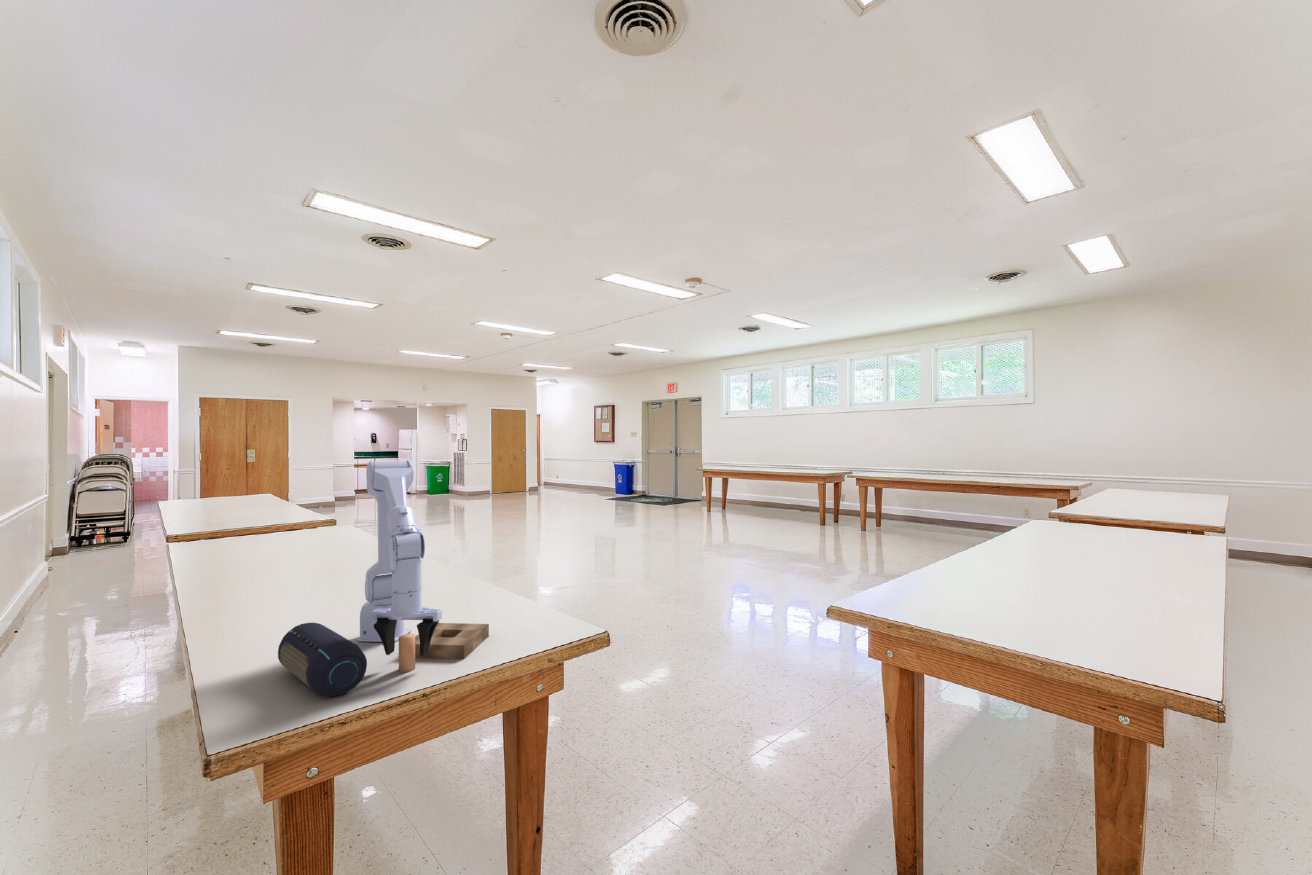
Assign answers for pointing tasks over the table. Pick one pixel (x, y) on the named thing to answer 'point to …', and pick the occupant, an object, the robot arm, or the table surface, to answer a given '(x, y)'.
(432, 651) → the socket block
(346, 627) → the table surface
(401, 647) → the peg
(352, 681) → the portable speaker
